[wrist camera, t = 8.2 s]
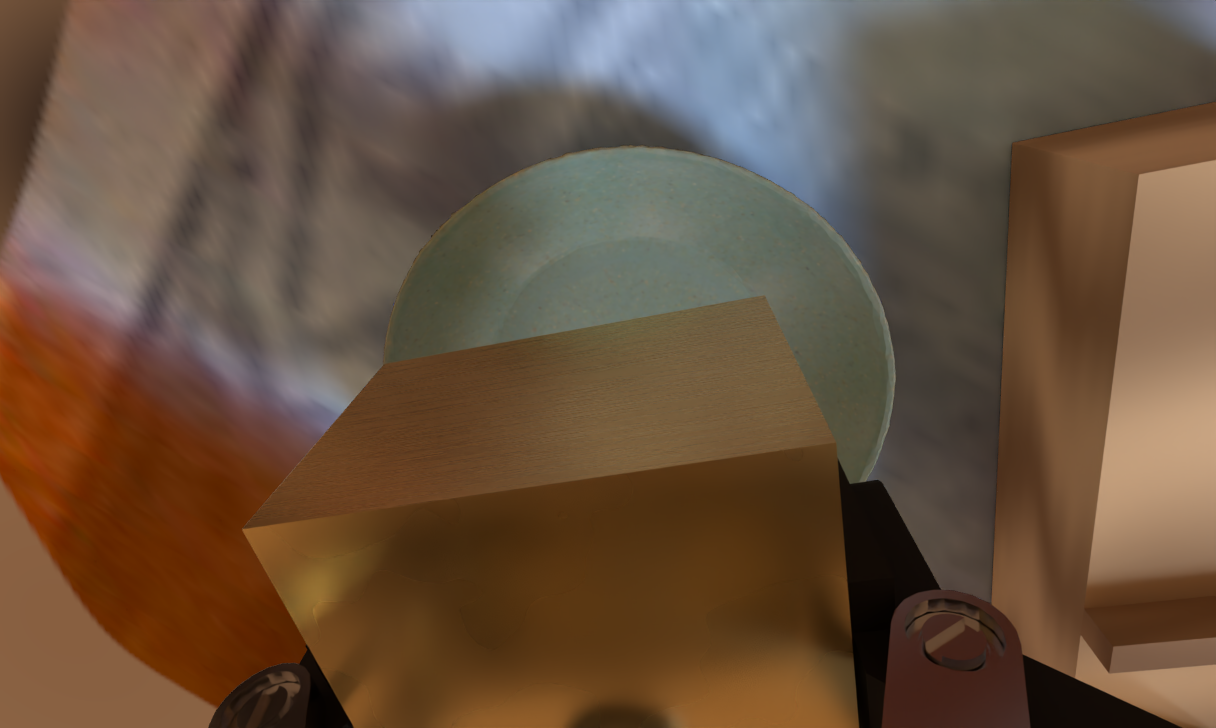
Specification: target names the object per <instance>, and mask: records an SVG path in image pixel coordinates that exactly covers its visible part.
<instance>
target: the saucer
mask: <svg viewBox="0 0 1216 728" xmlns="http://www.w3.org/2000/svg"><path fill="white" fill-rule="evenodd" d="M431 237H432V238H431V240H430V241H429V242H428V243H427V244H426V245H425V246H424V247H423V248H422V249H421V250H420V251H419V255H418V256H417V257H416V258H415V260H414V262H413V265H412V266H411V268H410V270H409V272H408V274H407V277H406V278H405V280H404V282H403V284H402V286H401V289H400V291H399V293H398V296H397V298H396V301H395V303H394V307H393V310H392V313H391V317H390V321H389V325H388V330H387V334H386V343H385V347H384V360H383V365H384V364H387V363H392V362H398V361H403V360H409V359H414V358H420V357H425V356H431V355H437V354H442V353H448V352H453V351H459V350H464V349H470V348H475V347H481V346H486V345H492V344H497V343H503V342H508V341H514V340H520V339H525V338H531V337H536V336H542V335H547V334H553V333H558V332H564V331H569V330H575V329H580V328H586V327H591V326H597V325H603V324H608V323H614V322H619V321H625V320H630V319H636V318H641V317H647V316H652V315H658V314H663V313H669V312H674V311H680V310H686V309H691V308H697V307H702V306H708V305H713V304H719V303H724V302H730V301H735V300H741V299H746V298H752V297H757V296H763V295H765V297H766V299H767V301H768V303H769V305H770V307H771V309H772V311H773V313H774V315H775V317H776V320H777V322H778V324H779V326H780V328H781V330H782V332H783V334H784V336H785V338H786V340H787V342H788V344H789V346H790V348H791V350H792V352H793V355H794V357H795V359H796V361H797V363H798V365H799V367H800V369H801V371H802V373H803V375H804V377H805V379H806V381H807V383H808V385H809V387H810V389H811V392H812V394H813V396H814V398H815V400H816V402H817V404H818V406H819V408H820V410H821V412H822V414H823V416H824V418H825V420H826V422H827V424H828V426H829V429H830V431H831V433H832V435H833V437H834V439H835V441H836V446H837V458H838V460H839V462H840V464H841V466H842V468H843V470H844V472H845V475H846V477H847V479H848V481H849V483H850V484H852V483H859V482H866V480H867V478H868V476H869V475H870V473H871V471H872V470H873V468H874V466H875V464H876V462H877V459H878V457H879V454H880V452H881V449H882V445H883V443H884V438H885V436H886V434H887V432H888V428H889V426H890V423H889V421H890V418H891V413H892V408H893V400H894V389H895V381H896V374H895V372H896V369H895V358H894V351H893V346H892V342H891V337H890V331H889V326H888V322H887V320H886V317H885V311H884V309H883V306H882V303H881V301H880V298H879V296H878V294H877V292H876V290H875V288H874V287H873V285H872V283H871V280H870V278H869V275H868V274H867V272H866V271H865V270H864V268H863V267H862V265H861V261H860V260H859V259H858V258H857V257H856V255H855V254H854V252H853V251H852V250H851V248H850V247H849V245H848V244H847V243H846V242H845V240H844V239H843V237H842V236H841V235H839V234H838V233H837V232H836V231H835V229H834V228H833V227H832V226H830V225H829V223H828V222H827V221H826V220H825V219H824V218H823V217H822V216H820V215H819V213H817V212H816V211H815V210H814V209H813V208H812V207H810V206H809V205H808V204H806V203H804V202H803V201H801V200H800V199H798V198H797V197H796V196H795V195H794V194H792V193H791V192H788V191H786V190H785V189H784V188H782V187H780V186H778V185H777V184H775V183H773V182H772V181H770V180H768V179H766V178H764V177H762V176H760V175H758V174H756V173H754V172H752V171H749V170H747V169H745V168H743V167H740V166H737V165H735V164H732V163H729V162H726V161H723V160H721V159H717V158H713V157H710V156H705V155H702V154H697V153H695V152H688V151H682V150H677V149H667V148H665V147H652V148H651V147H649V146H644V145H640V146H633V145H629V146H625V145H622V146H619V147H608V148H603V147H599V148H596V149H595V148H592V149H588V150H582V151H578V152H574V153H566V154H564V155H562V156H560V157H557V158H550V159H547V160H545V161H542V162H540V163H537V164H535V165H532V166H529V167H527V168H525V169H521V170H520V171H518V172H516V173H514V174H512V175H510V176H508V177H506V178H504V179H503V180H501V181H499V182H498V183H496V184H494V185H493V186H491V187H489V188H488V189H487V190H485V191H484V192H482V193H481V194H479V195H476V196H475V198H474V199H473V200H471V201H470V202H469V203H467V204H466V205H465V206H464V207H463V208H461V209H460V210H458V211H457V212H456V213H452V215H451V218H450V219H449V220H448V221H446V222H445V223H444V224H443V225H441V226H440V229H439V230H436V232H435V233H434V235H432V236H431Z"/></svg>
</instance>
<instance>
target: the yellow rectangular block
mask: <svg viewBox="0 0 1216 728" xmlns="http://www.w3.org/2000/svg"><path fill="white" fill-rule="evenodd" d="M242 530H243V532H244V534H245V536H246V538H247V539H248V541H249V543H250V545H251V546H252V548H253V550H254V552H255V553H256V555H257V557H258V559H259V560H260V562H261V564H262V566H263V568H264V569H265V571H266V573H267V575H268V576H269V578H270V580H271V582H272V583H273V585H274V587H275V589H276V590H277V592H278V594H279V596H280V598H281V599H282V601H283V603H284V605H285V606H286V608H287V610H288V612H289V613H290V615H291V617H292V619H293V620H294V622H295V624H296V626H297V628H298V629H299V631H300V633H301V635H302V636H303V638H304V640H305V642H306V643H307V645H308V647H309V649H310V651H311V652H312V654H313V656H314V658H315V659H316V661H317V663H318V665H319V666H320V668H321V670H322V672H323V673H324V675H325V677H326V679H327V681H328V682H329V684H330V686H331V688H332V689H333V691H334V693H335V695H336V696H337V698H338V700H339V702H340V703H341V705H342V707H343V709H344V711H345V712H346V714H347V716H348V718H349V719H350V721H351V723H352V725H353V726H354V728H859V721H858V708H857V696H856V683H855V671H854V658H853V646H852V633H851V621H850V608H849V596H848V583H847V571H846V559H845V546H844V534H843V521H842V509H841V496H840V484H839V471H838V459H837V446H836V441H835V439H834V437H833V435H832V433H831V431H830V429H829V426H828V424H827V422H826V420H825V418H824V416H823V414H822V412H821V410H820V408H819V406H818V404H817V402H816V400H815V398H814V396H813V394H812V392H811V389H810V387H809V385H808V383H807V381H806V379H805V377H804V375H803V373H802V371H801V369H800V367H799V365H798V363H797V361H796V359H795V357H794V355H793V352H792V350H791V348H790V346H789V344H788V342H787V340H786V338H785V336H784V334H783V332H782V330H781V328H780V326H779V324H778V322H777V320H776V317H775V315H774V313H773V311H772V309H771V307H770V305H769V303H768V301H767V299H766V297H765V295H763V296H757V297H752V298H746V299H741V300H735V301H730V302H724V303H719V304H713V305H708V306H702V307H697V308H691V309H686V310H680V311H674V312H669V313H663V314H658V315H652V316H647V317H641V318H636V319H630V320H625V321H619V322H614V323H608V324H603V325H597V326H591V327H586V328H580V329H575V330H569V331H564V332H558V333H553V334H547V335H542V336H536V337H531V338H525V339H520V340H514V341H508V342H503V343H497V344H492V345H486V346H481V347H475V348H470V349H464V350H459V351H453V352H448V353H442V354H437V355H431V356H425V357H420V358H414V359H409V360H403V361H398V362H392V363H387V364H384V365H383V366H382V368H381V369H380V370H379V371H378V372H377V373H376V374H375V376H374V377H373V378H372V379H371V380H370V381H369V383H368V384H367V385H366V386H365V387H364V388H363V390H362V391H361V392H360V393H359V394H358V395H357V396H356V398H355V399H354V400H353V401H352V402H351V403H350V405H349V406H348V407H347V408H346V409H345V410H344V412H343V413H342V414H341V415H340V416H339V417H338V419H337V420H336V421H335V422H334V423H333V424H332V425H331V427H330V428H329V429H328V430H327V431H326V432H325V434H324V435H323V436H322V437H321V438H320V439H319V441H318V442H317V443H316V444H315V445H314V446H313V447H312V449H311V450H310V451H309V452H308V453H307V454H306V456H305V457H304V458H303V459H302V460H301V461H300V463H299V464H298V465H297V466H296V467H295V468H294V470H293V471H292V472H291V473H290V474H289V475H288V476H287V478H286V479H285V480H284V481H283V482H282V483H281V485H280V486H279V487H278V488H277V489H276V490H275V492H274V493H273V494H272V495H271V496H270V497H269V499H268V500H267V501H266V502H265V503H264V504H263V505H262V507H261V508H260V509H259V510H258V511H257V512H256V514H255V515H254V516H253V517H252V518H251V519H250V521H249V522H248V523H247V524H246V525H245V526H244V527H243V529H242Z"/></svg>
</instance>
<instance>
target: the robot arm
mask: <svg viewBox="0 0 1216 728" xmlns="http://www.w3.org/2000/svg"><path fill="white" fill-rule="evenodd" d="M837 459H838V458H837ZM838 471H839V484H840V496H841V509H842V521H843V534H844V546H845V559H846V571H847V583H848V596H849V608H850V621H851V633H852V646H853V658H854V671H855V683H856V696H857V708H858V721H859V728H1182V727H1180V726H1178V725H1176V724H1173V723H1171V722H1169V721H1167V720H1165V719H1162V718H1160V717H1158V716H1156V715H1154V714H1152V713H1149V712H1147V711H1145V710H1143V709H1141V708H1139V707H1136V706H1134V705H1132V704H1130V703H1128V702H1126V701H1123V700H1121V699H1119V698H1117V697H1115V696H1112V695H1110V694H1108V693H1106V692H1104V691H1102V690H1099V689H1097V688H1095V687H1093V686H1091V685H1089V684H1086V683H1084V682H1082V681H1080V680H1078V679H1076V678H1073V677H1071V676H1069V675H1067V674H1065V673H1062V672H1060V671H1058V670H1056V669H1054V668H1052V667H1049V666H1047V665H1045V664H1043V663H1041V662H1039V661H1036V660H1034V659H1032V658H1030V657H1028V656H1025V655H1023V654H1022V646H1021V642H1020V639H1019V636H1018V633H1017V630H1016V628H1015V627H1014V626H1013V624H1012V623H1011V622H1010V621H1009V619H1008V618H1007V617H1006V615H1004V614H1003V613H1002V612H1000V611H999V610H998V609H997V608H995V607H994V606H993V605H991V604H990V603H988V602H986V601H983V600H981V599H979V598H977V597H975V596H973V595H969V594H965V593H961V592H957V591H953V590H941V589H940V587H939V585H938V583H937V582H936V580H935V578H934V576H933V574H932V572H931V571H930V569H929V567H928V565H927V563H926V562H925V560H924V558H923V556H922V554H921V552H920V551H919V549H918V547H917V545H916V543H915V541H914V540H913V538H912V536H911V534H910V532H909V531H908V529H907V527H906V525H905V523H904V521H903V520H902V518H901V516H900V514H899V512H898V510H897V509H896V507H895V505H894V503H893V501H892V499H891V498H890V496H889V494H888V492H887V490H886V489H885V487H884V485H883V484H882V482H881V481H879V480H874V481H866V482H859V483H852V484H850V483H849V481H848V479H847V477H846V475H845V472H844V470H843V468H842V466H841V464H840V462H839V460H838ZM306 648H307V652H306V653H305V655H304V657H303V658H302V660H301V662H300V664H296V663H282V664H278V665H275V666H272V667H268V668H266V669H264V670H262V671H260V672H258V673H256V674H254V675H253V676H251V677H250V678H248V679H247V680H245V681H244V682H243V683H241V684H240V685H238V686H237V687H236V688H235V689H234V690H233V691H232V692H231V693H230V694H229V695H228V696H227V697H226V698H225V699H224V701H223V702H222V703H221V705H220V706H219V707H218V709H217V710H216V712H215V713H214V715H213V718H212V720H211V722H210V724H209V727H208V728H354V726H353V725H352V723H351V721H350V719H349V718H348V716H347V714H346V712H345V711H344V709H343V707H342V705H341V703H340V702H339V700H338V698H337V696H336V695H335V693H334V691H333V689H332V688H331V686H330V684H329V682H328V681H327V679H326V677H325V675H324V673H323V672H322V670H321V668H320V666H319V665H318V663H317V661H316V659H315V658H314V656H313V654H312V652H311V651H310V649H309V647H308V645H307V644H306Z"/></svg>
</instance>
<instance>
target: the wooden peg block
mask: <svg viewBox="0 0 1216 728" xmlns="http://www.w3.org/2000/svg"><path fill="white" fill-rule="evenodd" d="M991 605H993V606H994V607H995V608H997V609H998V610H999V611H1000V612H1002V613H1003V614H1004V615H1006V617H1007V618H1008V619H1009V621H1010V622H1011V623H1012V624H1013V626H1014V627H1015V628H1016V630H1017V633H1018V636H1019V639H1020V642H1021V646H1022V654H1023V655H1025V656H1028V657H1030V658H1032V659H1034V660H1036V661H1039V662H1041V663H1043V664H1045V665H1047V666H1049V667H1052V668H1054V669H1056V670H1058V671H1060V672H1062V673H1065V674H1067V675H1069V676H1071V677H1073V678H1076V679H1078V680H1080V681H1082V682H1084V683H1086V684H1089V685H1091V686H1093V687H1095V688H1097V689H1099V690H1102V691H1104V692H1106V693H1108V694H1110V695H1112V696H1115V697H1117V698H1119V699H1121V700H1123V701H1126V702H1128V703H1130V704H1132V705H1134V706H1136V707H1139V708H1141V709H1143V710H1145V711H1147V712H1149V713H1152V714H1154V715H1156V716H1158V717H1160V718H1162V719H1165V720H1167V721H1169V722H1171V723H1173V724H1176V725H1178V726H1180V727H1182V728H1216V102H1212V103H1207V104H1202V105H1197V106H1192V107H1187V108H1182V109H1177V110H1172V111H1167V112H1162V113H1157V114H1152V115H1148V116H1143V117H1138V118H1133V119H1128V120H1123V121H1118V122H1113V123H1108V124H1103V125H1098V126H1093V127H1088V128H1083V129H1078V130H1073V131H1068V132H1063V133H1058V134H1053V135H1048V136H1043V137H1038V138H1033V139H1028V140H1023V141H1018V142H1013V143H1012V161H1011V183H1010V205H1009V227H1008V249H1007V271H1006V293H1005V315H1004V337H1003V359H1002V381H1001V403H1000V425H999V448H998V470H997V492H996V514H995V536H994V558H993V580H992V602H991Z"/></svg>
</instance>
